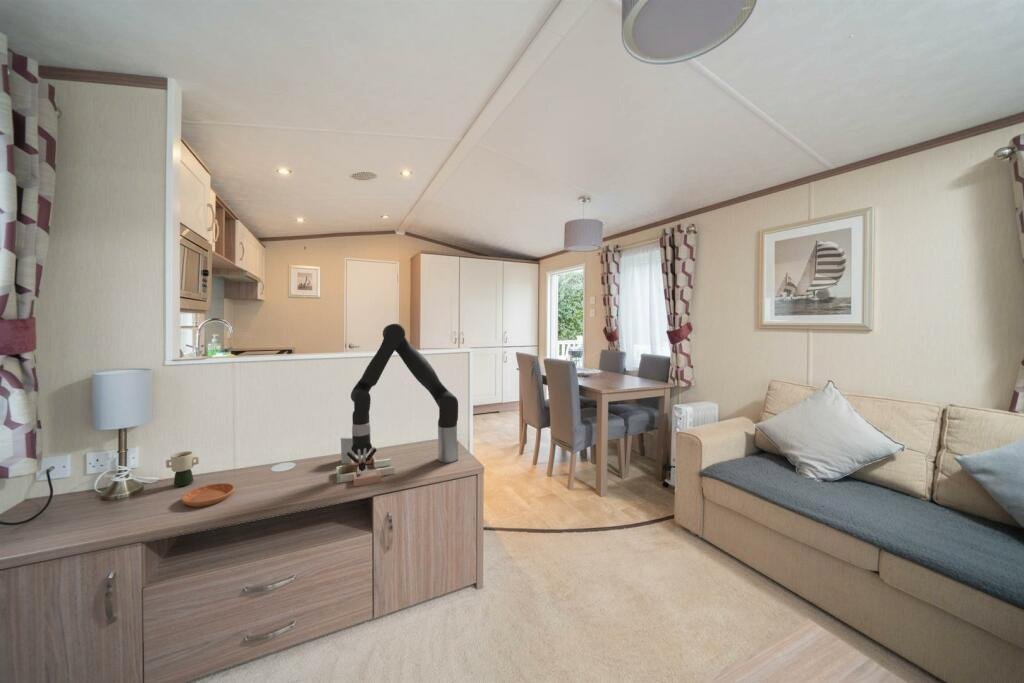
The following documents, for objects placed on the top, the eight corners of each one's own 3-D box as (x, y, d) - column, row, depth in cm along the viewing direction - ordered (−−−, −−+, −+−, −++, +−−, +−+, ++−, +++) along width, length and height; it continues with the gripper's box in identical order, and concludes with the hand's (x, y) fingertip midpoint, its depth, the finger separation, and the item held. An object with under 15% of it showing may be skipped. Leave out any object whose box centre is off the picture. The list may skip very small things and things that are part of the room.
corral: (389, 459, 189) (388, 453, 188) (396, 479, 167) (396, 472, 167) (336, 467, 178) (336, 461, 178) (337, 489, 157) (337, 482, 156)
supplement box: (363, 458, 190) (362, 433, 189) (355, 464, 183) (355, 438, 182) (348, 457, 191) (348, 433, 190) (340, 463, 184) (340, 437, 183)
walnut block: (356, 472, 174) (356, 462, 173) (357, 477, 168) (357, 467, 168) (341, 474, 171) (341, 464, 171) (342, 480, 166) (342, 469, 165)
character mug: (202, 478, 165) (201, 449, 164) (197, 485, 159) (195, 455, 158) (170, 483, 161) (169, 453, 160) (163, 490, 154) (161, 459, 154)
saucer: (242, 488, 158) (241, 481, 157) (221, 507, 142) (221, 499, 142) (197, 491, 154) (197, 484, 154) (171, 511, 138) (171, 503, 138)
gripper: (376, 428, 177) (376, 465, 178) (344, 432, 171) (345, 469, 173) (377, 433, 170) (378, 471, 171) (345, 437, 164) (346, 476, 166)
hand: (362, 470), depth 172 cm, fingers closed
